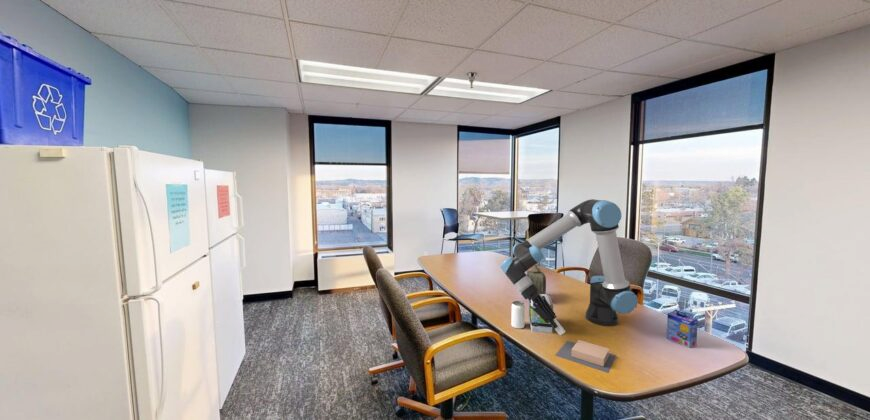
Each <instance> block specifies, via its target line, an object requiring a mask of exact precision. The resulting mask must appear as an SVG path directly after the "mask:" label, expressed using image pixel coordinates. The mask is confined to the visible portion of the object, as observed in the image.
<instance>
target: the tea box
mask: <svg viewBox="0 0 870 420" xmlns="http://www.w3.org/2000/svg"><path fill="white" fill-rule="evenodd" d="M539 295H540V296H541V297H542V296H545V298H546V300H547V302H548V304H549V305H550V307H551V308H552V310H553V311H554V303H553V301H552V298H551V296H550V294H547V293H546V294H539ZM528 305H529V308H528V310H529V311H528V312H529V313H528V321H529V326H530V330H531V332H533V333H546V334H553V326H552V325H551V324H550V322H549V323H546V322H545V321H544V320H543V319H542V318H541V317H540V316H539V315H538V314H537V313H536V312H535V311H534V310H533V309H532V308H530V306H531V303H530V302H529V304H528Z"/></svg>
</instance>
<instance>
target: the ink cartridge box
mask: <svg viewBox="0 0 870 420" xmlns="http://www.w3.org/2000/svg"><path fill="white" fill-rule="evenodd" d="M698 321H699V319H698V318H696V317H692V316H689V315H687V314H686V312H682V311H680V310H676V311H671V312H668V313H667V322H666V339H667V340H669V341H672V342H674V343H677V344H680V345H682V346H684V347H687V348H689V349H690V348H693V347H696V346H697V341H698V339H697V338H698V323H699V322H698Z"/></svg>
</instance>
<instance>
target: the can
mask: <svg viewBox="0 0 870 420" xmlns="http://www.w3.org/2000/svg"><path fill="white" fill-rule="evenodd" d="M525 307H526V306H525V303H524V302H522V301H519V300H515V301H512V303H511V315H510V316H511V317H510V318H511V319H510V320H511V321H510V323H511V327H512V328H514V329H517V330H522V329H524V328H525V319H526V317H525V315H526V308H525Z"/></svg>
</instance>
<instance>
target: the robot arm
mask: <svg viewBox="0 0 870 420" xmlns="http://www.w3.org/2000/svg"><path fill="white" fill-rule="evenodd" d="M620 220H621V221H622V210H621V209H620V207H619V206H618V204H616V203H615V202H611V201H609V200H601V199H587V200H585V201H582V202H581V203H579V204H577V205H575V206H574V207H572V208H570V210H568V211H567V213H566V215H564V216H562V217H561V218H559V219H557V220H556V221H554V222H553V223H551V224H550V225H548V226H546V227H545V228H543V229H542V230H540V231H539V232H537V233H535V234H534V235H533V236H531V237H530V238H528V239H526V240H524V241H523V242H517V243H515V244H514V246H513V247H512V254H513V255H514V256H515V258H514V257H513V256H510V257H508V258H506V259H505V260H504V261H502V262H501V264H500V269H501V270H502V272H503V273H504V274H505V276H506V277H507V278H508V279H509V280H510V282H511V284H513V286H514V287H515V289H517V290H518V292H520V294H521V296H522V298H524V300H528V301H529V303H531V306H530V308H532V309H533V310H534V311H535V312H536V313H537V314H538V315H539V316H540V317H541V318H542V319H543V320H544V321H545V322H546V323H549V322H550V324H551V325H552V328H553V329H554V330H555V332H557V334H558V335H559V336H562V335H563V334H564V333H566V330H565V328H564V327H563V326H562V325H561V324H560V322H559V321H558V320H557V319H556V318H557V315H556V312H554V309H553V310H552V308H551V307H550V305H549V304H548V302H547V300H546V298H545V296H542V297H541V296H540V295H539V294H538V293H537V291H538V288H537V287H536V286H535V285H534V284H532V281H531V280H530V278H529V277H528V276H527V270H530V269H531V268H534V267H535V264H537V265H538V263H540V262H541V261H542V260H543V259H544V257H545V256H544V254H543V252H542V251H541V250H542V249H543V248H545V247H546V246H548V245H550V244H551V243H553V242H554V241H556V240H558V239H559V238H561V237H562V236H564V235H566V234H567V233H569V232H570V231H572V230H573V229H575V228H577V227H582V226H584V225H585V224H586V225H587V224H589V226H590V227H589V228H590V230H591V231H590V232H592V233H593V234H595V237H596V242H597V249H598V253H599V254H598V255H599V257H600V263H601V268H602V273H603V275H592V276H591V277H590V282H589V284H590V285H589V287H590V289H589V304H588V307H587V308H586V312H585V318H586V320H587V321H589V322H591V323H593V324H596V325H600V326H606V327H607V326H616V325H618V324H619V317H618V314H621V315H627V314H630V313H632V312H633V311H634V310H635V309H636V308H637V305H638V303H639V301H638V300H639V299H638V297H637V296H638V295H636V294H635V292H633V291H632V288H631V284H630V281H628V280H627V279H626V278H625V272H624V268H623V262H622V257H621V251H620V246H619V242H618V237H617V231H618V229H619V228H620V227H619V224H620Z"/></svg>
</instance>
